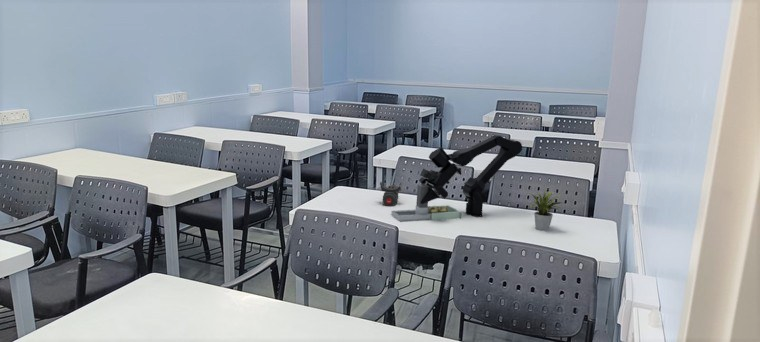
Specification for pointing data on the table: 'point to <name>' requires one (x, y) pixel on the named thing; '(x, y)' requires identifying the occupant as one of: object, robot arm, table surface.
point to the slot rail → (410, 216)
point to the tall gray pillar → (421, 193)
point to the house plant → (544, 211)
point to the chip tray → (445, 213)
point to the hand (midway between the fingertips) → (419, 202)
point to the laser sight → (390, 194)
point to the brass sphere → (433, 210)
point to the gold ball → (442, 209)
